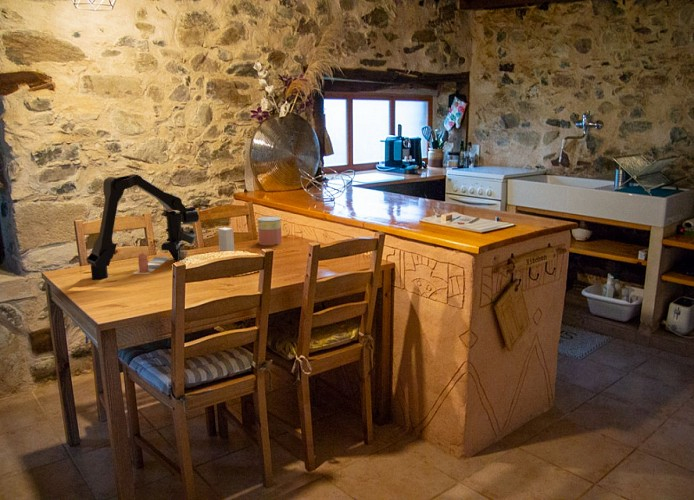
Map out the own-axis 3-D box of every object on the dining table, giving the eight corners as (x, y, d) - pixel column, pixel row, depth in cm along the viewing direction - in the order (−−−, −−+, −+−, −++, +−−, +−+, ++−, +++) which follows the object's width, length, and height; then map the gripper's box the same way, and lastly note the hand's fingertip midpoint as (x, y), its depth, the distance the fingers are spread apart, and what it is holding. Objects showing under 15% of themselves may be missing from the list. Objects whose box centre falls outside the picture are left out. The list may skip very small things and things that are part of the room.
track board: (150, 276, 225) (150, 274, 224) (131, 276, 225) (130, 274, 224) (172, 259, 251) (172, 256, 250) (154, 259, 251) (154, 256, 251)
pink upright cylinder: (146, 272, 226) (145, 254, 224) (138, 272, 226) (136, 254, 225) (149, 270, 230) (148, 252, 228) (141, 270, 230) (139, 252, 228)
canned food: (261, 239, 287) (260, 216, 285) (284, 240, 286) (283, 216, 283) (256, 245, 277) (255, 220, 274) (279, 245, 275) (278, 220, 273)
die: (185, 261, 247) (184, 252, 246) (175, 261, 247) (175, 252, 246) (188, 259, 251) (187, 250, 250) (178, 259, 251) (178, 250, 250)
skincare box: (235, 254, 258) (233, 228, 255) (227, 256, 255) (225, 230, 252) (227, 252, 262) (225, 227, 259) (219, 254, 259) (217, 228, 256)
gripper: (186, 230, 230) (189, 267, 233) (199, 221, 248) (201, 256, 252) (159, 230, 230) (162, 267, 234) (173, 221, 248) (176, 256, 252)
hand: (177, 261), depth 243 cm, fingers closed
